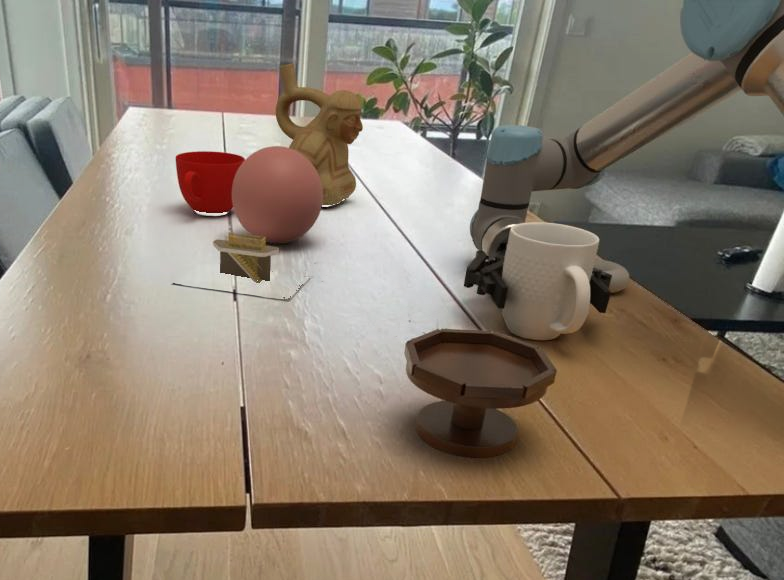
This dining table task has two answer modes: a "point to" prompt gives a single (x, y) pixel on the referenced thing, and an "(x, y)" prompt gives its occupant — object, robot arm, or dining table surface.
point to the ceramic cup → (207, 179)
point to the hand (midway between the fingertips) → (554, 300)
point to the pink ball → (277, 194)
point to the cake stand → (474, 387)
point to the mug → (547, 279)
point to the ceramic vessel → (323, 133)
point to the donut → (613, 274)
